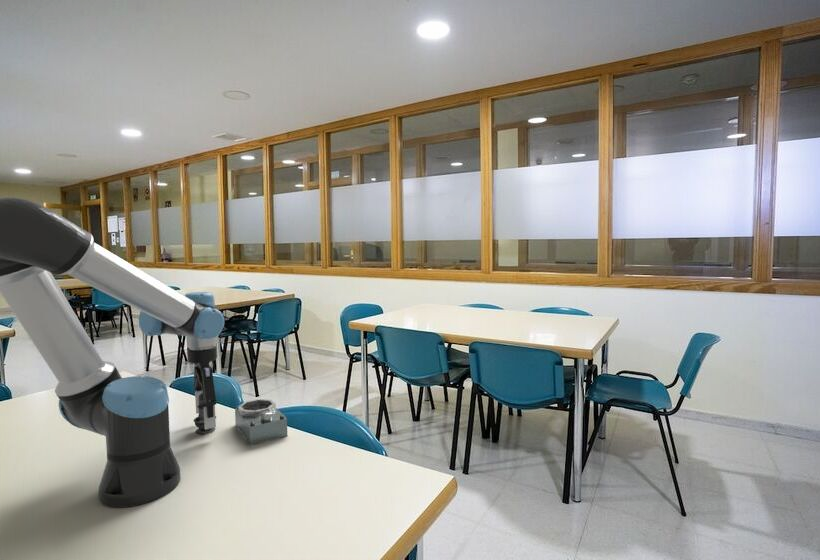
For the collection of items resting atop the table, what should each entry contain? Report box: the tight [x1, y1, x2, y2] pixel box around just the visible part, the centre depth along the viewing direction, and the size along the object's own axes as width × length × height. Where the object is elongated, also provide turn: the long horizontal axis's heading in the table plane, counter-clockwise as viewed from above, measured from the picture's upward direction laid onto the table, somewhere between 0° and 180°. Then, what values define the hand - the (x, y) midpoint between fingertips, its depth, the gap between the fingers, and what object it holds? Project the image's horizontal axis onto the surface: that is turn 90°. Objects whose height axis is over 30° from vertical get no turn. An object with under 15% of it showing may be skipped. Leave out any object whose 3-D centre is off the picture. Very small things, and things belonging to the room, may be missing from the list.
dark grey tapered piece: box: [192, 393, 217, 436], centre depth 124 cm, size 6×6×12 cm
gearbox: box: [234, 398, 288, 446], centre depth 124 cm, size 16×10×7 cm, turn 35°
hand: (205, 419), depth 124 cm, fingers open, 13 cm apart
